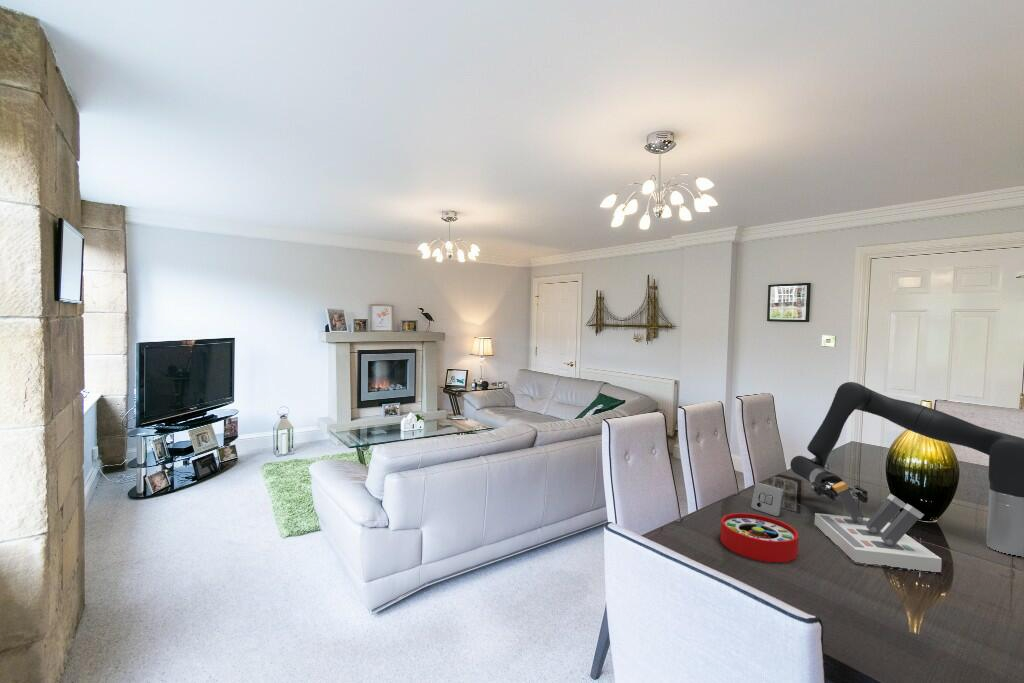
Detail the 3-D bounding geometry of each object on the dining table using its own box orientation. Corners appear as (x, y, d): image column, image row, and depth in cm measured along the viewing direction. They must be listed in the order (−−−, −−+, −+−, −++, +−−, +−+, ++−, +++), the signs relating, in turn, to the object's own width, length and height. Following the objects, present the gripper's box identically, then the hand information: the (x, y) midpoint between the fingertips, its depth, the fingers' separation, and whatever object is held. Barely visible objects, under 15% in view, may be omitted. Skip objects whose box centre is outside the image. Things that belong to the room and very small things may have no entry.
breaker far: (888, 544, 131) (918, 511, 129) (893, 548, 129) (924, 514, 127) (877, 536, 132) (906, 503, 130) (882, 540, 129) (912, 506, 127)
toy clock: (716, 530, 134) (725, 508, 151) (715, 550, 134) (724, 526, 151) (798, 549, 123) (798, 523, 140) (797, 571, 123) (797, 542, 141)
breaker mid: (872, 532, 139) (901, 501, 137) (877, 536, 136) (906, 504, 135) (862, 525, 140) (890, 493, 138) (867, 528, 137) (895, 496, 135)
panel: (884, 532, 149) (885, 518, 149) (940, 574, 123) (941, 557, 123) (814, 525, 153) (815, 512, 153) (854, 564, 127) (855, 548, 127)
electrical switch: (750, 508, 166) (752, 482, 166) (757, 507, 169) (760, 481, 169) (777, 517, 159) (780, 490, 159) (785, 516, 162) (787, 489, 162)
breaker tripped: (862, 516, 147) (842, 481, 148) (867, 519, 144) (846, 483, 145) (851, 520, 147) (831, 485, 148) (856, 524, 145) (835, 488, 146)
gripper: (803, 469, 161) (824, 484, 146) (850, 472, 158) (876, 488, 143) (802, 490, 162) (823, 508, 146) (849, 494, 159) (875, 513, 143)
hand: (849, 498), depth 144 cm, fingers open, 8 cm apart
